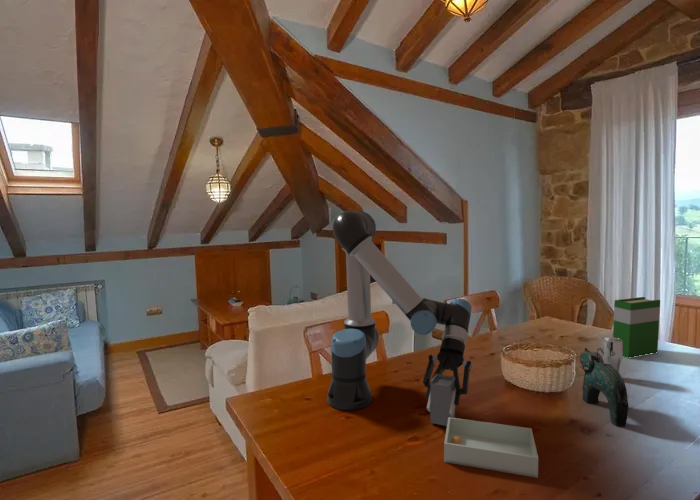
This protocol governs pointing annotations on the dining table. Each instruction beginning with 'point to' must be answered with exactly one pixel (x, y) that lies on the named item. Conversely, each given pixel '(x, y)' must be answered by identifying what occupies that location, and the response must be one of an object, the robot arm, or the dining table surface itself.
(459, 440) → the ball
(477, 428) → the tray
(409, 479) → the dining table surface
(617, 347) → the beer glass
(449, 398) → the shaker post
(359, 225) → the robot arm
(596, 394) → the teal animal figurine
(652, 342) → the hardback book
